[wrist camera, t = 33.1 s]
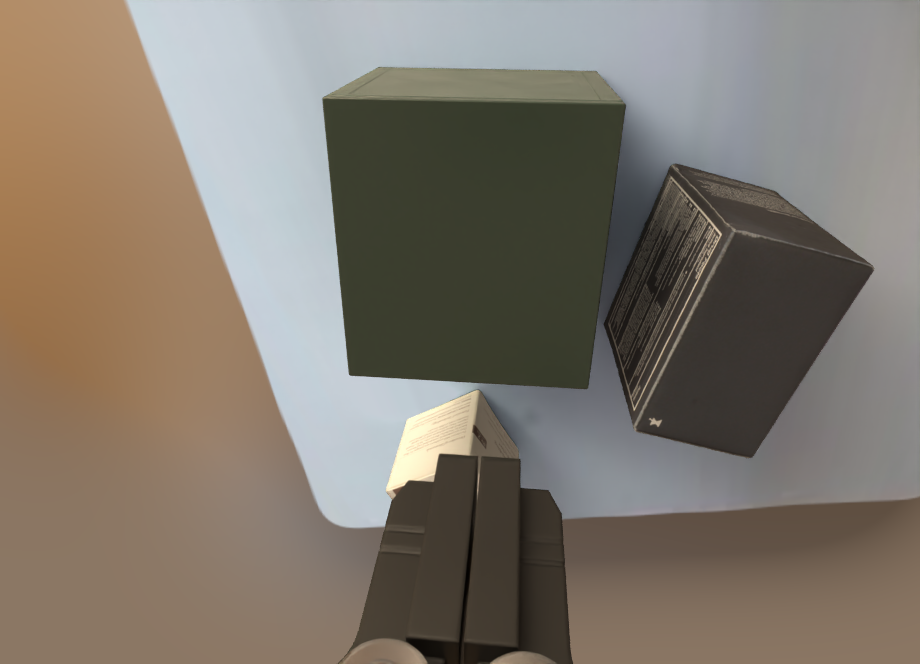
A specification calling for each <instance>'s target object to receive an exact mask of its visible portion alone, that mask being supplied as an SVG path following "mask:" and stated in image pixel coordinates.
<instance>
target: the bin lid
mask: <svg viewBox="0 0 920 664" xmlns="http://www.w3.org/2000/svg"><path fill="white" fill-rule="evenodd" d="M625 108H626V105H625V103H624V102H618V101H571V100H524V99H478V98H431V97H384V96H338V95H327V96H325V97H323V110H324V120H325V131H326V141H327V151H328V162H329V172H330V182H331V193H332V203H333V214H334V224H335V234H336V245H337V255H338V266H339V276H340V286H341V297H342V307H343V318H344V328H345V338H346V349H347V359H348V369H349V375H350V376H367V377H384V378H401V379H419V380H436V381H454V382H471V383H488V384H506V385H523V386H540V387H558V388H575V389H588V385H589V378H590V370H591V363H592V355H593V348H594V340H595V333H596V325H597V318H598V310H599V303H600V295H601V288H602V280H603V273H604V265H605V258H606V250H607V243H608V235H609V228H610V220H611V213H612V205H613V198H614V190H615V183H616V175H617V168H618V160H619V153H620V145H621V138H622V130H623V123H624V115H625Z"/></svg>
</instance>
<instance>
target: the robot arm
mask: <svg viewBox="0 0 920 664" xmlns="http://www.w3.org/2000/svg"><path fill="white" fill-rule="evenodd" d="M520 470H521V461H520V459H516V458H502V457H488V456H482V457H481V465H480V476H479V487H478V456H471V455H457V454H443V453H440V454H439V456H438V461H437V466H436V472H435V477H434V482H429V481H416V480H408V481H407V482H406V484H405V485H404V486H403V487H402V489H401V490H400V491H399V492H398V494H397V495H396V496H395V497H394V498H393V500H392V502H391V505H390V509H389V513H388V517H387V521H386V525H385V531H384V533H383V537H382V541H381V545H380V551H379V553H378V557H377V560H376V564H375V568H374V572H373V576H372V580H371V584H370V588H369V592H368V595H367V600H366V603H365V607H364V611H363V615H362V619H361V623H360V627H359V631H358V633H357V636H356V639H355V641H354V643H353V645H352V647H351V648H350V650H349V651H348V653H347V654H346V655H345V656H344V658H343V659H342V660H341V661H340V662H339V663H338V664H573V661H572V657H571V650H570V636H569V621H568V604H567V589H566V575H565V566H564V565H565V558H564V545H563V528H562V513H561V512H560V510H559V508H558V506H557V505H556V503H555V501H554V499H553V498H552V496H551V494H550V492H549V490H539V489H525V488H520ZM477 489H478V497H477Z"/></svg>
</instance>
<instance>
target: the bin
mask: <svg viewBox="0 0 920 664" xmlns="http://www.w3.org/2000/svg"><path fill="white" fill-rule="evenodd" d="M329 95H338V96H384V97H431V98H478V99H524V100H571V101H618V102H623V101H622V100H621V99H620V97H619V96H618V95H617V94H616V93H615V92H614V91H613V89H612V88H611V87H610V86H609V85H608V84H607V83H606V81H605V80H604V79H603V78H602V77H601V76H600V75H599V74H598V72H597V71H563V70H506V69H449V68H393V67H378V68H376V69H374V70H373V71H371V72H369V73H367V74H365V75H363V76H362V77H360V78H358V79H356V80H354V81H352V82H351V83H349V84H347V85H345V86H343V87H341V88H340V89H338V90H336V91H334V92H332V93H330V94H329Z"/></svg>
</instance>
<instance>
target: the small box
mask: <svg viewBox="0 0 920 664" xmlns="http://www.w3.org/2000/svg"><path fill="white" fill-rule="evenodd" d="M873 271H874V267H873V266H872V265H871V264H870V263H868V262H867V261H866V260H865V259H863V258H861V257H860V256H858V255H857V254H856V253H855V252H853V251H852V250H851V249H849V248H848V247H847V246H845V245H844V244H842V243H841V242H840V241H839V240H837V239H836V238H835V237H833V236H832V235H831V234H829V233H828V232H827V231H825V230H824V229H823V228H821V227H820V226H819V225H818V224H816V223H815V222H814V221H812V220H811V219H810V218H808V217H807V216H806V215H804V214H803V213H802V212H801V211H799V210H798V209H797V208H796V207H794V206H793V205H791V204H790V203H789V202H788V201H786V200H785V199H784V198H782V197H781V196H780V195H779V194H778V193H777V192H775V191H772V190H769V189H765V188H762V187H759V186H755V185H752V184H748V183H744V182H741V181H738V180H734V179H730V178H727V177H723V176H719V175H716V174H712V173H708V172H704V171H701V170H698V169H694V168H690V167H687V166H683V165H679V164H673V165H672V166H670V168H669V171H668V174H667V176H666V178H665V180H664V183H663V185H662V187H661V189H660V192H659V194H658V197H657V199H656V201H655V204H654V206H653V208H652V211H651V213H650V215H649V218H648V220H647V222H646V223H645V227H644V230H643V232H642V234H641V236H640V239H639V241H638V244H637V246H636V248H635V251H634V253H633V255H632V258H631V260H630V263H629V265H628V266H627V269H626V272H625V274H624V277H623V279H622V281H621V283H620V286H619V288H618V291H617V293H616V295H615V298H614V300H613V303H612V305H611V308H610V310H609V312H608V315H607V318H606V320H605V322H604V327H605V330H606V333H607V336H608V338H609V341H610V345H611V348H612V351H613V355H614V358H615V362H616V366H617V368H618V374H619V377H620V381H621V384H622V387H623V391H624V395H625V398H626V402H627V405H628V409H629V413H630V416H631V419H632V423H633V428H634V430H635V431H636V432H639V433H644V434H649V435H653V436H658V437H662V438H666V439H670V440H674V441H678V442H682V443H687V444H691V445H695V446H699V447H704V448H707V449H711V450H715V451H720V452H724V453H728V454H732V455H737V456H741V457H745V458H752V457H753V456H754V454H755V453H756V451H757V449H758V448H759V446H760V445H761V443H762V442H763V440H764V439H765V437H766V436H767V434H768V433H769V431H770V429H771V428H772V426H773V425H774V423H775V422H776V420H777V418H778V417H779V415H780V414H781V412H782V411H783V409H784V407H785V406H786V404H787V403H788V401H789V400H790V398H791V397H792V395H793V394H794V392H795V390H796V389H797V387H798V386H799V384H800V383H801V381H802V380H803V378H804V377H805V375H806V373H807V372H808V370H809V369H810V367H811V366H812V364H813V363H814V361H815V360H816V358H817V357H818V355H819V353H820V352H821V350H822V349H823V347H824V346H825V344H826V343H827V341H828V340H829V338H830V337H831V335H832V333H833V332H834V330H835V329H836V327H837V326H838V324H839V323H840V321H841V320H842V318H843V317H844V315H845V314H846V312H847V310H848V309H849V307H850V306H851V304H852V303H853V301H854V300H855V298H856V297H857V295H858V294H859V292H860V291H861V289H862V288H863V286H864V285H865V283H866V282H867V280H868V279H869V277H870V275H871V274H872V272H873Z"/></svg>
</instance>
